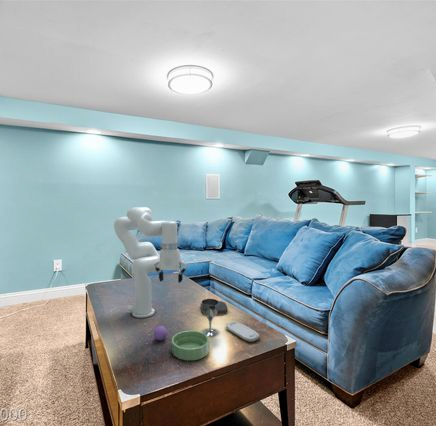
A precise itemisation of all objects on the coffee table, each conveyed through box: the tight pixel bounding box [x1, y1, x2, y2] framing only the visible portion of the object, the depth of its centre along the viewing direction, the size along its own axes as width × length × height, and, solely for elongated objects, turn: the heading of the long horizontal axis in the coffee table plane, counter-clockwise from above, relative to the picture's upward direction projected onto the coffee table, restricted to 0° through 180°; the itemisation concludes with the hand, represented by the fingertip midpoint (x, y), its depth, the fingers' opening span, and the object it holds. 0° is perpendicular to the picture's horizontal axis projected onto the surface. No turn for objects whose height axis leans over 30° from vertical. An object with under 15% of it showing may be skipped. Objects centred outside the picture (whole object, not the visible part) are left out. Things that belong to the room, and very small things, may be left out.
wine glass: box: [201, 298, 219, 337], centre depth 129 cm, size 8×8×15 cm
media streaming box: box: [200, 300, 228, 315], centre depth 157 cm, size 15×15×3 cm
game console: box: [225, 321, 260, 343], centre depth 128 cm, size 18×2×8 cm
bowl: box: [171, 329, 210, 361], centre depth 114 cm, size 16×16×5 cm
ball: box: [153, 325, 168, 341], centre depth 123 cm, size 6×6×6 cm
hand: (170, 281), depth 133 cm, fingers open, 9 cm apart
